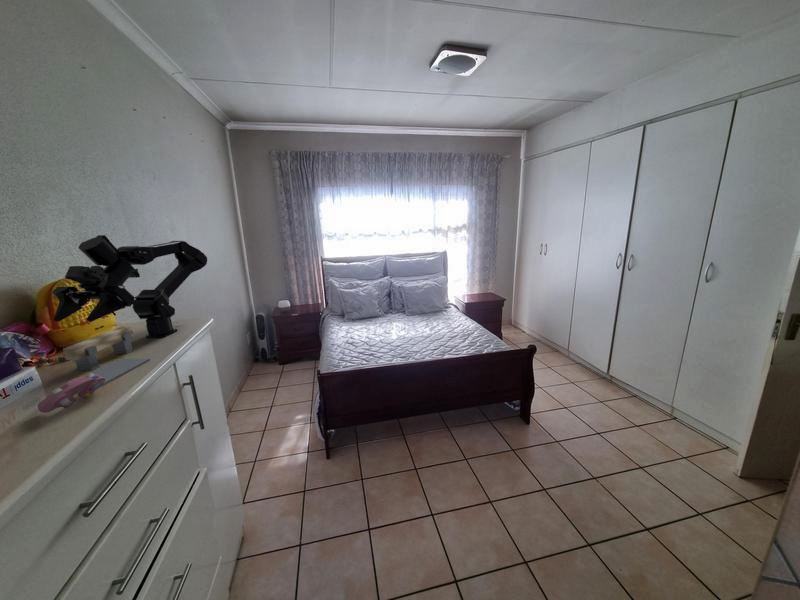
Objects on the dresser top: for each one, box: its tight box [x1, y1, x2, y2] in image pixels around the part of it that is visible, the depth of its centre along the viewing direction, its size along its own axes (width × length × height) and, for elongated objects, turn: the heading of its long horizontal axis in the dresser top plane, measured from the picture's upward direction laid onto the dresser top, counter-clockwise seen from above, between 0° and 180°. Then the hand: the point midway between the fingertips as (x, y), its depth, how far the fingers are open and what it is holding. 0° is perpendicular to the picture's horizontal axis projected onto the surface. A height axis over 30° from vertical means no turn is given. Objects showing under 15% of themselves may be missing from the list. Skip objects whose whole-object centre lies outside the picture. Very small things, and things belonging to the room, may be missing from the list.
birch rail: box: [62, 325, 135, 361], centre depth 86 cm, size 16×3×3 cm, turn 175°
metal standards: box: [74, 332, 134, 371], centre depth 87 cm, size 12×6×6 cm, turn 175°
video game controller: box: [37, 372, 105, 414], centre depth 66 cm, size 10×5×7 cm
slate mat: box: [56, 357, 151, 389], centre depth 79 cm, size 16×9×1 cm, turn 175°
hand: (71, 321), depth 79 cm, fingers open, 9 cm apart
